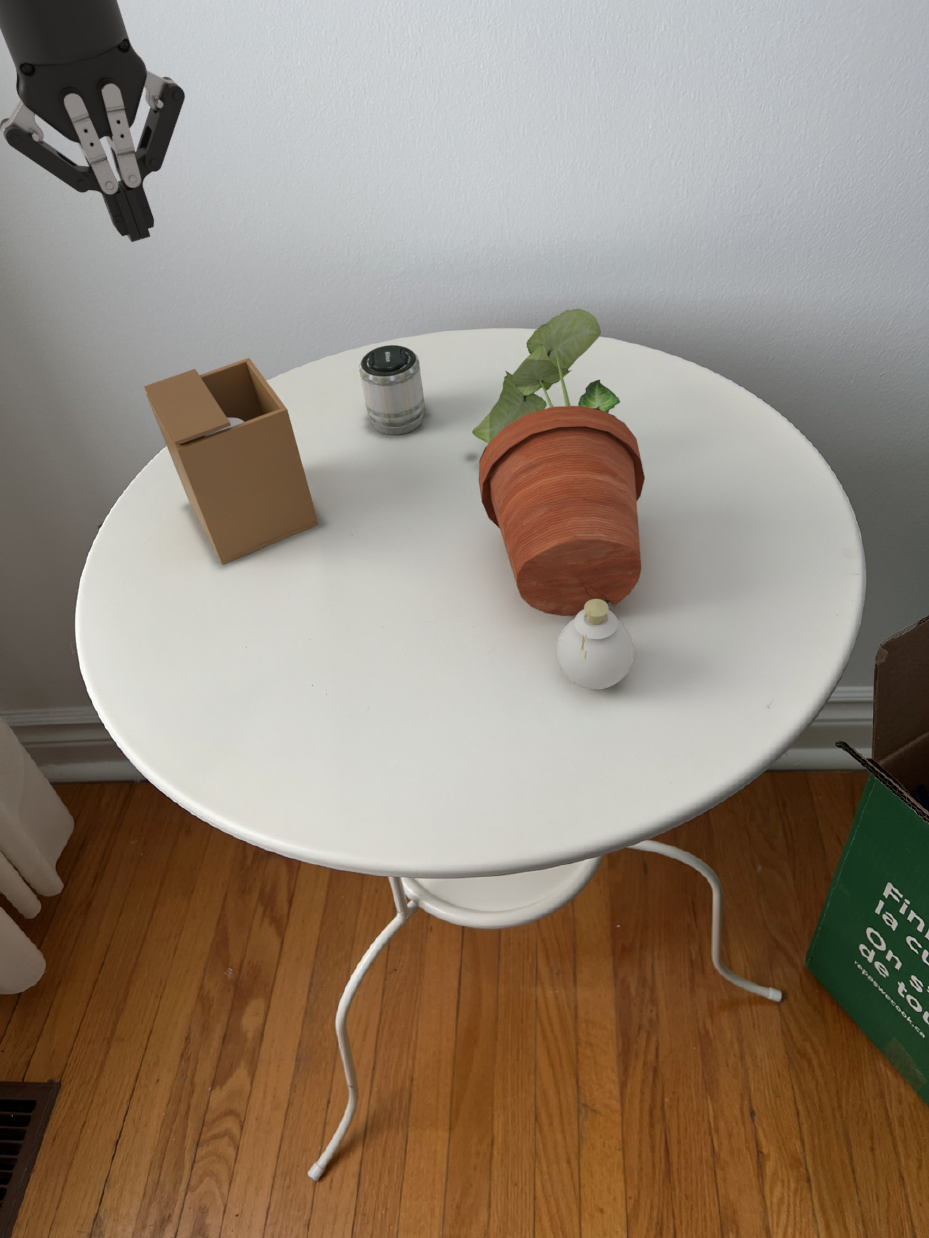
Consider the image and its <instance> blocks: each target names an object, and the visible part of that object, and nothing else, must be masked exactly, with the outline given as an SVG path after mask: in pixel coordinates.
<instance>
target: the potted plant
mask: <svg viewBox="0 0 929 1238" xmlns="http://www.w3.org/2000/svg"><path fill="white" fill-rule="evenodd" d="M601 333H602V330H601V326H600V324H599V322H598V320H597V318H596V316H595V315H593V314H592V313H591V312H589V311H587V310H584V309H581V308H573V309H566V310H565V311H563V312H561V313H560V314H558V315H555V316H554V317H552V318H551V319H550V320H549V321H548V322H546V323H544V324H541V325H540V326H539V327H537V329H536V330H534V331H533V333H532V335H531V336H530V337H529V338H528V339H527V341H526V349H527V351H528V354H529V355H528V356H527V357H526V358H525V359H524V360H523V361H522V362H521V363H520V365H519V366H518V367H517V369H516V370H515V371H514V372H512V373H510V372H509V371H507V370H505V373H506V375H505V376H504V377H503V379H504V380H503V382H502V390H501V393H500V395H499V398H498V400H497V402H496V403H495V404H494V405H493V406H492V408H491V409H490V411H489V413H488V414H487V415H486V416H485V417H484V419H482V421H481V422H479V424H478V425H477V426H475V427H474V428H473V429H472V432H471V434H472V435H473V436H475V437H476V438H477V439H479V440H481V441H483V442H485V443H487V445H486V446H485V447H484V449H483V451H482V453H481V456H480V458H479V460H478V462H479V463H478V485H479V487H478V488H479V492H480V499H481V503H482V506H483V508H484V510H485V513H486V515H487V518H488V519H489V520H490V521H491V522H492V523H493V524H494V525H495V526H496V527H497V528H499V530H500V531H499V532H500V534H501V537H502V541H503V544H504V548H505V551H506V554H507V558H508V560H509V561H508V562H509V565H510V567H511V571H512V574H513V578H514V581H515V584H516V588H517V590H518V592H519V595H520V597H521V600H523V601H524V602H525V603H526V604H528V605H529V606H530V607H531V608H533V609H535V610H537V611H540V612H542V613H544V614H548V615H554V616H560V617H573V616H575V617H576V615H577V614H578V613H579V612H580V611H582V610H583V609H584V606H585V604H586V602H588V601H589V600H592V599H601V600H603V601H605V602H606V603H607V604H608V605H609V604H612V605H614V606H617V605H618V604H619V603H621V602H622V601H623V600H624V599H625V598H627V596H628V595H630V593H631V592H632V591H633V589H635V587H636V586H637V584H638V583H639V580H640V577H641V573H642V556H641V545H640V544H641V543H640V532H639V530H640V529H639V516H638V504H637V502H638V501H639V499H640V498H641V497H642V493H643V492H642V491H643V487H644V484H645V480H646V477H645V472H644V466H643V462H642V458H641V457H642V456H641V453H640V449H639V443H638V439H637V437H636V436H635V434H634V433H633V432H632V431H631V429H630V428H629V427H628V425H627V424H626V423H625V422H624V421H622V420H621V419H619V418H618V417H617V416H615V415H614V414H612V413H609V412H610V411H611V410H612V409H614V408H615V406H616V405H619V404H620V403H621V400H620V397H618V396H617V394H615V393H614V391H612V390H611V389H610V388H609V387H607V386H605V385H604V384H603V383H602V382H601V379H597V380H593V381H591V382H589V384H588V385H587V386H586V387H585V389H584V390H585V392H584V393H583V394H582V395H581V396H579V399H578V403H577V405H571V402H570V399H569V394H568V390H567V386H566V382H565V379H564V378H565V376H567V375H568V374H570V373H571V372H572V371H573V369H571V370H570V368H571V367H572V366H573V365H574V364H575V362H576V361H577V360H578V359H579V358H580V357H581V356H583V355H584V354H585V353H586V352H587V351H588V350H589V349H590V348H591V347H592V345H593V344H595V342H596V341H597V340H598V339H599V338H600V336H601ZM559 382H560V384H561V389H562V394H563V400H564V406H563V405H562V406H554V405H553V403H552V401H551V398H550V396H549V394H548V390H550V388H551V387H552V386H553V385H554V384H558V383H559ZM540 389H542V391H543V393H544V395H545V398H546V400H547V401H546V400H545V399H544V398H543V397H542V396H539V395H538V394H536V392H538V391H539V390H540ZM547 406H549V407H548V408H546V407H547Z"/></svg>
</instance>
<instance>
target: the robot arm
mask: <svg viewBox="0 0 929 1238" xmlns="http://www.w3.org/2000/svg"><path fill="white" fill-rule="evenodd" d="M0 32H1V34H2V37H3V39H4V42H5V44H6V47H7V49H8V52H9V54H10V57H11V59H12V62H13V64H14V68H15V72H16V81H15V90H16V93H17V95H18V98H19V99H20V100H19V101H18V103H17V105H16V106H15V108H14V109H13V111H12V113H11V115H10V116H9V117H6V118H3V119H2V120H1V121H0V131H1V134H2V136H3V138H4V139H5V140H6V142H7V144H8V145H9V146H10V147H11V148H13V149H14V150H15V151H17V152H19V153H20V154H22V155H23V156H25V157H26V158H28V159H29V160H30V161H32V162H34V163H35V164H36V165H38V166H40V167H41V168H43V170H45V171H47V172H48V173H49V174H51V175H53V176H55V177H56V178H57V179H58V180H60V181H62V182H63V183H65V184H66V185H68V186H69V187H70V188H72V189H73V190H75V191H76V192H78V193H82V194H84V193H87V192H88V191H92V192H93V191H94V192H99V193H100V194H101V196H102V199H103V202H104V204H105V207H106V210H107V213H108V215H109V218H110V220H111V223H112V225H113V227H114V228H115V230H116V231H117V232H118V234H119V235H120V236H121V237H126V236H127V238H128V239H129V241H130V242H131V243H134V242H138V241H141V240H144V239H147V238H150V237H151V233H150V231H149V229H152V228H155V218H154V215H153V212H152V210H151V209H152V208H151V206H150V203H149V200H148V197H147V195H146V191H145V188H144V181H145V178H147V176H149V175H150V174H151V173H154V172H155V173H156V172H158V171H160V170H161V169H162V166H163V163H164V161H165V158H166V155H167V152H168V149H169V146H170V143H171V140H172V137H173V134H174V131H175V128H176V125H177V124H178V123H177V122H178V120H179V117H180V114H181V111H182V108H183V105H184V103H185V98H186V93H185V91H184V89H183V88H182V87H181V86H180V85H178V84H177V82H175V81H174V80H173V79H172V78H171V77H169V76H163V77H161V76H159V75H157V74H155V73H153V72H152V71H149V70H148V69H147V66H146V63H145V62H144V60H143V58H142V57H141V56H140V55H139V54H138V52H136V50H135V48H134V47H133V46H132V44H131V41H130V38H129V35H128V32H127V28H126V25H125V22H124V19H123V15H122V12H121V9H120V5H119V2H118V0H0ZM144 89H145V95H144V99H145V102H146V104H147V105H148V106H149V110H148V113H147V116H146V120H145V122H144V125H143V128H142V132H141V134H140V137H139V141H138V144H137V148H135V145H134V141H133V136H132V133H131V128H132V126H133V125H134V123H135V121H136V118H137V114H138V110H139V107H140V103H141V99H142V96H143V92H144ZM35 116H37V117H38V118H40V119H41V120H42V121H43V122H45V123H46V124H47V125H49V126H50V127H51V128H52V129H54V130H55V131H56V132H58V133H59V134H61V135H62V136H63V137H64V138H65V139H67V140H68V141H71V142H73V143H77V146H78V147H79V149H80V151H81V153H82V155H83V158H84V160H85V162H86V163H87V165H79V164H78V163H76V162H75V161H73V160H72V159H70V158H69V157H67V156H66V155H64V154H63V153H62V152H60V151H59V150H57V149H56V148H55V147H53V146H52V145H50V144H49V143H47V142H46V141H45V140H44V137H45V136H44V131H43V130H42V128H41V127H40V126H39V124H38V123H37V122H36V118H35ZM103 138H106V142H107V145H108V147H109V149H110V153H111V157H112V161H113V164H114V168H115V172H116V173H117V174H118V177H119V180H117V178H116V176H115V173H114V172H113V171H114V170H113V169H112V167H111V164H110V162H109V160H108V156H107V154H106V151H105V149H104V147H103V144H102V142H101V139H103ZM135 149H136V150H135Z"/></svg>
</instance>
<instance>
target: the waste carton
mask: <svg viewBox="0 0 929 1238" xmlns="http://www.w3.org/2000/svg"><path fill="white" fill-rule="evenodd" d="M199 376H200V377H201V379H202V380H203V382H204V383H205V385H206V386H207V388H208V389H209V391H210V393H211V394H212V396H213V397H214V399H215V400H216V402H217V403H218V405H219V406H220V408H221V409H222V411H223V413H224V414H225V416H226V417H227V418H238V419H241V420H243V421H244V422H243V423H241V424H238V425H235V426H232V427H230V428H227V429H224V430H222V431H219V432H216V433H214V434H211V435H208V436H206V437H204V436H201V437H199V438H196V439H193V440H190V441H188V442H185V443H182V444H179V445H177V446H176V444H175V443H174V441H173V439H172V437H171V435H170V434H169V432H168V430H167V428H166V426H165V425H164V423H163V421H162V419H161V417H160V416H159V414H158V412H157V410H156V409H155V407H154V405H153V403H152V401H151V400H150V398H149V396H148V394H147V393H146V394H145V395H146V398H147V401H148V403H149V406H150V408H151V411H152V413H153V415H154V418H155V420H156V423H157V425H158V428H159V430H160V433H161V436H162V438H163V440H164V443H165V445H166V448H167V450H168V453H169V455H170V458H171V461H172V463H173V465H174V468H175V470H176V473H177V475H178V478H179V480H180V482H181V483H180V484H181V486H182V489H183V490H184V493H185V495H186V497H187V500H188V503H189V505H190V507H191V510H192V512H193V513H194V515H195V517H196V518H197V521H198V523H199V524H200V526H201V528H202V530H203V532H204V534H205V535H206V538H207V539H208V541H209V543H210V546H212V549H213V551H214V552H215V554H216V556H217V557H218V560H219V562H220V563H221V565H225V564H226V563H229V562H232V561H234V560H237V559H239V558H241V557H244V556H247V555H249V554H251V553H253V552H256V551H258V550H261V549H263V548H266V547H268V546H270V545H272V544H274V543H278V542H280V541H283V540H285V539H287V538H290V537H292V536H294V535H297V534H299V533H302V532H304V531H307V530H309V529H312V528H314V527H317V526H319V521H318V516H317V513H316V509H315V505H314V502H313V498H312V495H311V494H312V493H311V491H310V488H309V487H310V486H309V484H308V481H307V477H306V473H305V469H304V465H303V461H302V458H301V454H300V450H299V446H298V443H297V440H296V436H295V432H294V429H293V424H292V421H291V417H290V414H289V410H288V408H287V407H286V405H285V404H284V403H283V401H282V400H281V399H280V397H279V396H278V395H277V393H276V392H275V390H274V389H273V388H272V386H271V385H270V384H269V382H268V381H267V380H266V379H265V376H263V374H262V373H261V371H260V370H259V369H258V368H257V366H256V365H255V363H254V362H253V361H252V359H251V358H250V357H246V358H244V359H242V360H239V361H236V362H233V363H230V364H227V365H225V366H222V367H219V368H216V369H213V370H210V371H208V372H207V371H206V372H204V373H201V374H199Z"/></svg>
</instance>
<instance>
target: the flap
mask: <svg viewBox="0 0 929 1238" xmlns="http://www.w3.org/2000/svg"><path fill="white" fill-rule="evenodd" d="M199 375H200V374H199V372H198V371H197V369H196V368H194V369H190V370H188V371H184V372H182V373H179V374H176V375H173V376H170V377H167V378H164V379H160V380H159V381H154V382H152V383H150V384H147V385H143V388H144V390H145V393H146V394H148V396H149V398H150V400H151V401H152V403H153V405H154V407H155V409H156V410H157V412H158V414H159V416H160V417H161V419H162V421H163V423H164V425H165V426H166V428H167V430H168V432H169V434H170V435H171V437H172V439H173V441H174V443H175V444H176V446H177V445H179V444H182V443H185V442H188V441H190V440H193V439H196V438H199V437H201V436H204V435H207V434H210V433H212V432H215V431H218V430H220V429H223V428H226V427H229V426H231V424H230V422H229V420H228V419H227V417H226V416H225V414H224V413H223V411H222V409H221V408H220V406H219V405H218V403H217V402H216V400H215V399H214V397H213V396H212V394H211V393H210V391H209V389H208V388H207V386H206V385H205V383H204V382H203V380H202V379H201V377H200V376H199Z"/></svg>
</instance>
